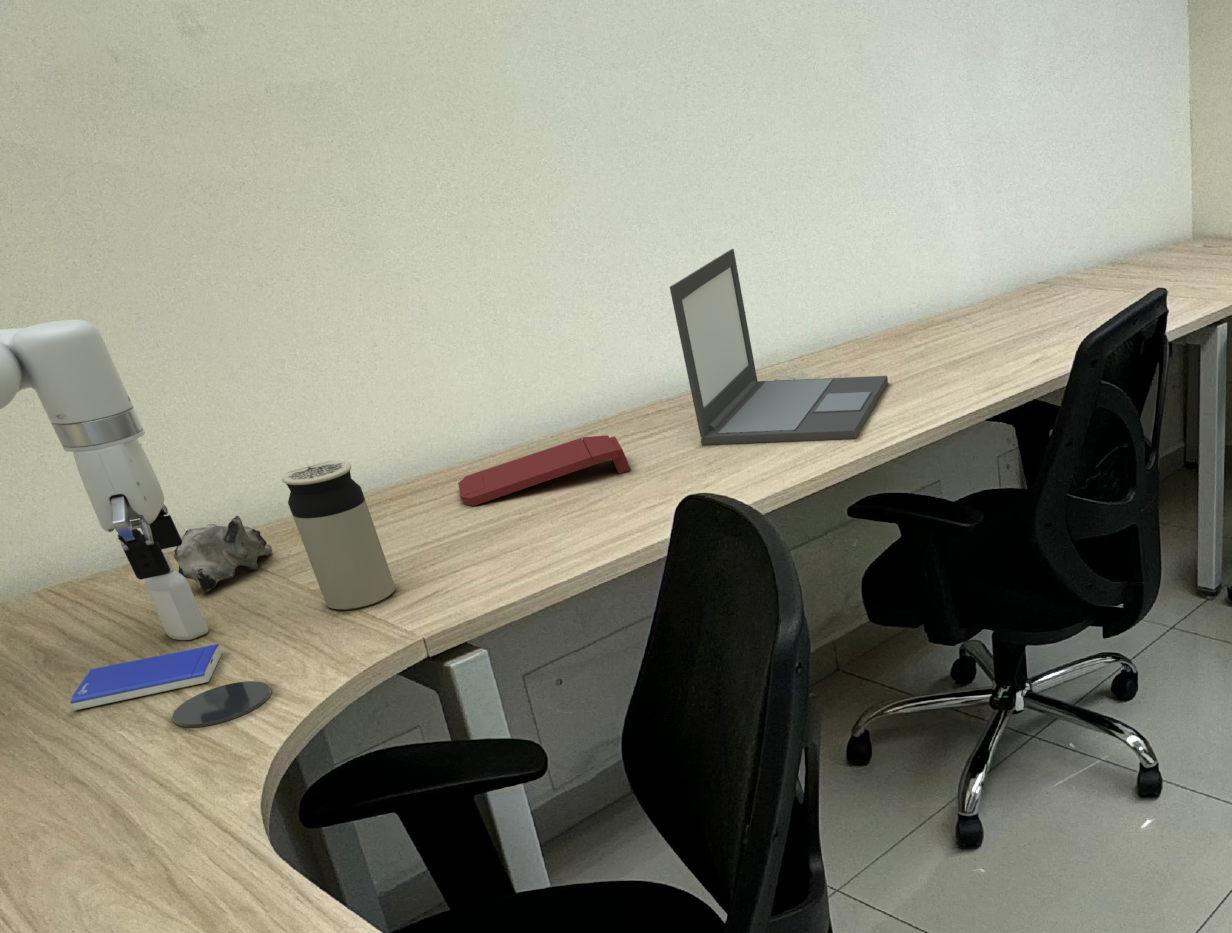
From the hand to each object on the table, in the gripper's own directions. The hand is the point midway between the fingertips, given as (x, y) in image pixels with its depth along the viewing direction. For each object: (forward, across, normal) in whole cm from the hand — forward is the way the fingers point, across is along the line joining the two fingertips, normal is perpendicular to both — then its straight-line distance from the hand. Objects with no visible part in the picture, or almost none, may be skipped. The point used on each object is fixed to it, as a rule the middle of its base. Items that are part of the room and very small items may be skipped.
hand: (161, 561), depth 140 cm
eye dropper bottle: (+10, 0, -1) cm, 10 cm away
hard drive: (+10, +13, -3) cm, 16 cm away
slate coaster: (+10, +24, +5) cm, 27 cm away
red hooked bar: (+11, -33, +44) cm, 56 cm away
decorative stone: (+10, -19, +2) cm, 22 cm away
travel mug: (+10, +1, +18) cm, 21 cm away
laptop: (+12, -44, +90) cm, 101 cm away
